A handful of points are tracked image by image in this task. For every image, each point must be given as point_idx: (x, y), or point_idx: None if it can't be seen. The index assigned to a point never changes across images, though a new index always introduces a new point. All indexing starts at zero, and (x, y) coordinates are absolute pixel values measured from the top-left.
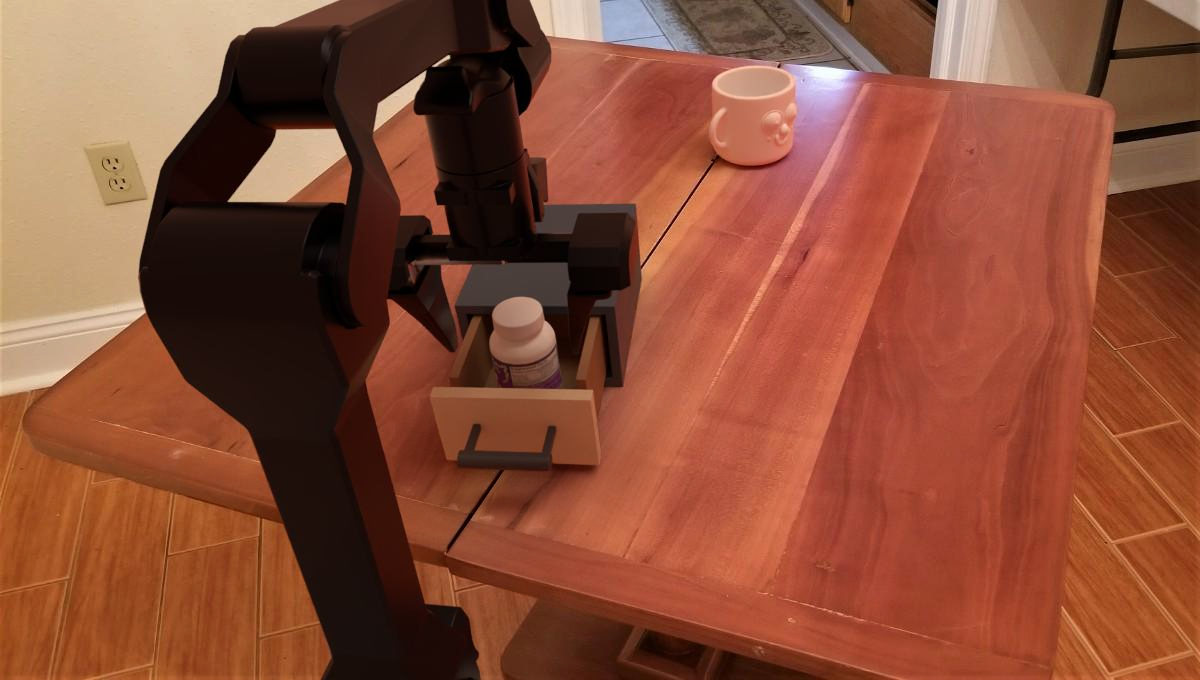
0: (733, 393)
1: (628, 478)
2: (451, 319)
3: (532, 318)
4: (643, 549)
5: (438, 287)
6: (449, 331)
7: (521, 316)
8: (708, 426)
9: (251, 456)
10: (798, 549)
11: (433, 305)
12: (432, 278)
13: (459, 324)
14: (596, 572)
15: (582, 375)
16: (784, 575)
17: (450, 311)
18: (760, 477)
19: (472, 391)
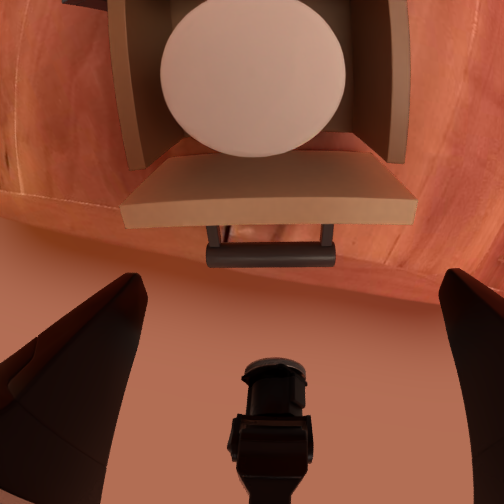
0: (491, 56)
1: (395, 172)
2: (101, 331)
3: (321, 112)
4: (401, 255)
5: (42, 432)
6: (124, 347)
7: (277, 102)
8: (472, 101)
9: (13, 190)
10: (495, 248)
11: (91, 451)
12: (36, 476)
13: (90, 7)
14: (361, 278)
15: (399, 151)
16: (480, 268)
17: (84, 335)
18: (498, 178)
19: (190, 211)
